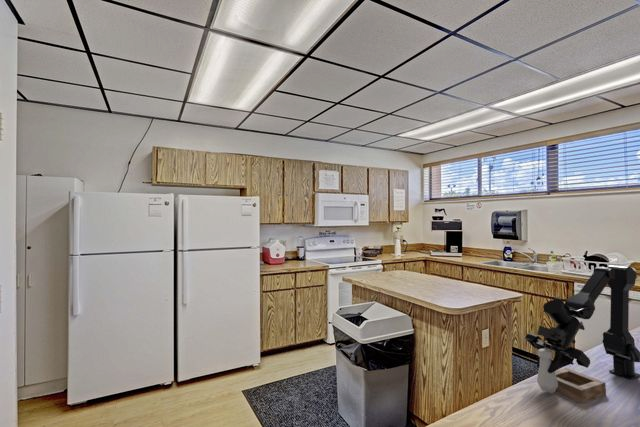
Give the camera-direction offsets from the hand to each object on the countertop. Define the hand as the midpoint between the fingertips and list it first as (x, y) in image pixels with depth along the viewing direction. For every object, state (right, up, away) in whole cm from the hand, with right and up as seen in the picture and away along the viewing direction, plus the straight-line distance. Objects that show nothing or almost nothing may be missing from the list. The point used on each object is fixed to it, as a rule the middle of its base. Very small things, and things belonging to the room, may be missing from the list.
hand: (543, 370), depth 107 cm
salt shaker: (+2, -7, 0) cm, 7 cm away
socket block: (+12, -8, +2) cm, 14 cm away
